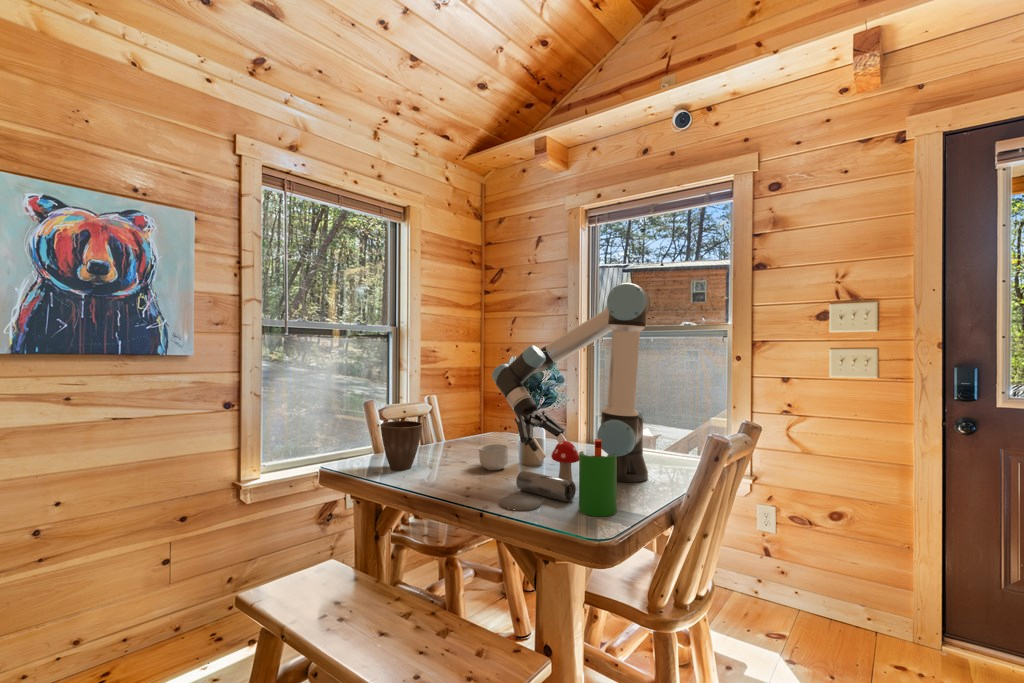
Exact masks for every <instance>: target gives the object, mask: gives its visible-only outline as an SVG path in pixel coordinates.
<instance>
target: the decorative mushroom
mask: <svg viewBox="0 0 1024 683" xmlns="http://www.w3.org/2000/svg"><path fill="white" fill-rule="evenodd" d="M551 460H553V461H555V462H558V463H559V473H558V477H557V478H560V479H564V480H568V481H572V482H574V480H573V475H572V474H573V472H572V464H575V463H578V462H579V452H578V451H577V449H576V446H575V445H574V444H573V443H572V442H570V441H568V440H567V441H562V442H560V443H559V442H558V443H557V444H556V446H555V447H554V449H553V450H552V453H551Z"/></svg>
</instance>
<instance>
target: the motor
mask: <svg viewBox="0 0 1024 683" xmlns="http://www.w3.org/2000/svg"><path fill="white" fill-rule="evenodd" d="M578 453H579V461H578V462H579V463H578V511H579V512H580V513H581V512H582V514H583V513H584V514H583V515H587V516H592V517H610V516H613V515H615V514H616V513H617V494H618V493H617V488H618V487H617V482H618V481H617V454H616V453H613V455H612V456H607V455H602V439H597V438H596V439H595V438H594V455H588V454H585V453H584V451H582V450H581V451H579V452H578Z"/></svg>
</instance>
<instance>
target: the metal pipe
mask: <svg viewBox="0 0 1024 683" xmlns="http://www.w3.org/2000/svg"><path fill="white" fill-rule="evenodd" d="M516 487H517V489H519V491H524V492H526V493H531V494H534V495H538V496H543V497H546V498H549V499H550V498H551V499H553V500H557V501H561V502H564V503H571V502H572V501H573V500H574V499H575V496H576V493H577V492H576V491H577V490H576V489H577V488H576V484H575V482H574V481H573V482H572V481H568V480H564V479H560V478H558V477H554V476H551V475H547V474H543V473H542V474H541V473H537V472H534V471H533V472H532V471H529V470H521V471H519V473H518V474H517V477H516Z"/></svg>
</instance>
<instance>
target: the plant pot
mask: <svg viewBox="0 0 1024 683" xmlns="http://www.w3.org/2000/svg"><path fill="white" fill-rule="evenodd" d="M422 430H423V423H422V422H419V421H413V420H395V421H394V420H393V421H387V422H382V423H381V424H380V434H381V438H382V439H381V440H382V444H383V445H382V446H383V449H384V452H385V457H386V460H387V463H388V466H389V468H390V469H391V470H394V471H407V470H411V468H412V466H413V464H414V461H415V458H416V455H417V451H418V449H419V445H420V440H421V437H422V436H421V435H422Z"/></svg>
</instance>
